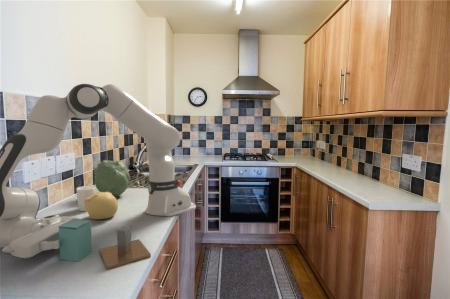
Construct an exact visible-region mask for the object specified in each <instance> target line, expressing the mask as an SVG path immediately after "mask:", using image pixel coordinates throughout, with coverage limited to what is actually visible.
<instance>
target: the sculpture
mask: <svg viewBox="0 0 450 299" xmlns="http://www.w3.org/2000/svg"><path fill="white" fill-rule="evenodd" d="M84 203H85V209H86V210H87V211H86V213H87V215H88V216H89V217H90V218H91V219H93V220H106V219H110V218H112V217H114V215H115V214H117V211H118V209H119V208H118V207H119V205H118V204H119V202H118V200H117V198H116V197H114V196H113V195H112V193H109V192H99V191H96V193H95V194H94V195H92V196H90V197H88V198H86V199H85V200H84Z"/></svg>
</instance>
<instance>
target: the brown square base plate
mask: <svg viewBox="0 0 450 299" xmlns="http://www.w3.org/2000/svg"><path fill="white" fill-rule="evenodd" d="M131 229H132V228H131V226H120V228H118V229H117V230H116V242H117V244H114V245H110V246H106V247H101V248H99V253H100V255H101V259H102V260H103V263H104V265H105V268H106V270H110V269H111V270H112V269H115V268H118V267H121V266H124V265H127V264H131V263H134V262H138V261H141V260H145V259H147V258H151V257H152V254H151V252H150V251H149V250H148V249H147V248H146V246H145V245H144V243H143V242H142V241H141V240H140V239H139V238H138V239H134V240H132V232H131V231H132V230H131Z"/></svg>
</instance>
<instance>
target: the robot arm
mask: <svg viewBox="0 0 450 299" xmlns="http://www.w3.org/2000/svg"><path fill="white" fill-rule="evenodd" d="M99 111H103V112H106V113H107V114H110V115H111V116H112V118H114V119H115V120H117V121H118V122H120V123H121V124H122V125H123V126H125V127H126V128H128V129H129V130H130V131H132V132H133V133H135V134H137V135H138V136H140V137H142V138H143V139H144V142H145V147H146V154H147V160H148V178H149V180H148V183H147V184H148V185H147V190H148V201H147V206H146V210H145V213H147V214H149V215H152V216H163V217H164V216H165V217H173V216H177V215H180V214H183V213H186V212H190V211H193V210H196V208H197V206H196V204H195V203H194V202H192V200H191V196H190V194H189V192H187V191H186V190H184V189H183V188H181V187H180V186H182V184H183V181H182V180H178V179H176V178H175V161H174V158H173V155H172V151H171V150H174V149H176V148H178V146H179V145H180V142H181V137H182V136H181V134H180V131H179V130H178V129H177V128H176V127H174V126H173V125H171V124H169V123H168V122H167V121H165V120H164V119H163V118H160V116H158V115H157V114H155V113H154V112H151V110H149V109H148V108H146V107H145V106H144V105H143V104H142V103H140V102H139V101H138V100H137V99H136V98H135V97H133V96H132V95H131V94H130V93H128V92H127V91H125V90H124V89H122V88H120V87H119V86H116V85H115V84H106V85H104V86H102V87H100V86H95V85H93V84H89V83H80V84H77V85H75V86H73V87H72V88H71V90H70V91H69V92H68V93H67V95H66V96H65V97H59V96H56V95H51V94H49V95H48V94H46V95H42V96H40V97H39V98H38V99H37V101H36V103H35V104H34V106H33V107H32V109H31V111H30V113H29V114H28V117H27V119H26V121H25V124H24V126H23V127H22V129H21V130H20V131H18V133H16V134H13V135H11V136H10V137H8V138H7V139H6V141H5V142H4V144H3V145H2V146H1V148H0V247H3V248H2V249H1V251H2V252H3V253H8V254H9V253H10V255H11V256H13V257H18V258H20V259H30V258H32V257H34V256H35V255H36V256H37V255H38V254H39V253H41V252H44V251H49V250H58V249H60V247H62V241H59V226H60V225H62V224H64V223H66V222H68V221H71V220H73V219H81V218H80V217H73V216H60V215H59V214H52V215H47V216H43V217H37V215H38V213H39V210H40V206H41V198H40V195H39V193H38V192H37V191H36V190H34V189H33V188H23V187H14V186H13V187H11V186H7V184H8V182H9V181H10V178H11V177H12V175H13V174H14V172H15V171H16V168H17V167H18V165H19V163H20V162H21V161H22V160H23V159H24V158H27V157H28V156H29V157H30V156H31V155H32V156H34V155H38V154H45V153H47V152H48V153H49V152H50V151H53V150H55V149H56V148H58V147H59V146H60V143H61V142H62V140H63V137H64V135H65V131H66V129H67V126H68V123H69V121H70V120H87V119H90V118H92V117H93V116H94V117H95V115H96V114H97V113H98V112H99Z"/></svg>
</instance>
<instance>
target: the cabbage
mask: <svg viewBox="0 0 450 299" xmlns="http://www.w3.org/2000/svg"><path fill="white" fill-rule="evenodd" d="M92 174H94V175H93V179H94V186H96V190H98V192H109V193H112V195H113V196H114V197H115V198H116V197H119V196H121V195H122V194H123V193H124V192H126V190H127V189H128V187H129V184H130V181H131V176H130V173H129V169H128V167H127V165H126V164H125V163H124V162H123V161H122V160H121V161H120V160H116V161H115V160H110V159H109V160H106V159H105V160H104V159H103V160H101V161H100V162H99V163H98V164H97V165H96V168H93V172H92Z"/></svg>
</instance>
